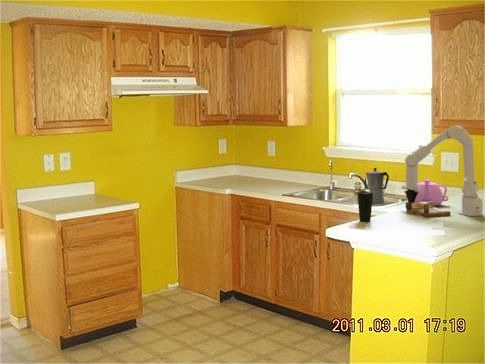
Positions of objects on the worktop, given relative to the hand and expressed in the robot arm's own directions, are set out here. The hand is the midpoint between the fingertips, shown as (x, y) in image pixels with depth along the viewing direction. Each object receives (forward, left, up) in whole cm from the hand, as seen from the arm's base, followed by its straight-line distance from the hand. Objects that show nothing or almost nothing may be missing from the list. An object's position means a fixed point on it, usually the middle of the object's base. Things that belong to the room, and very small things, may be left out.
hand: (411, 204), depth 303 cm
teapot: (+11, -16, -3) cm, 20 cm away
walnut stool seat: (-12, -1, -3) cm, 13 cm away
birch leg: (-6, -1, -1) cm, 6 cm away
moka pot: (+25, +6, -3) cm, 26 cm away
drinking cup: (-18, +37, -3) cm, 41 cm away
